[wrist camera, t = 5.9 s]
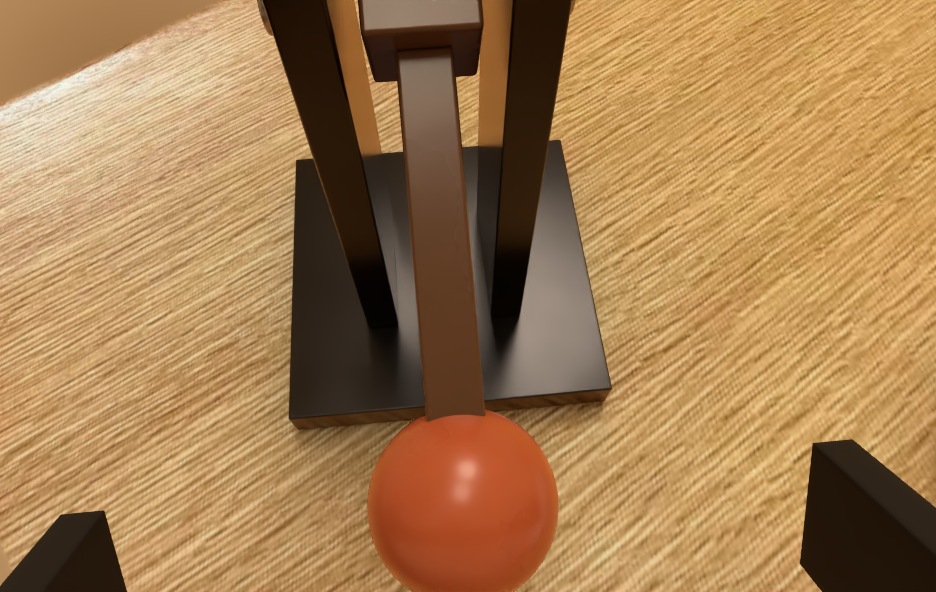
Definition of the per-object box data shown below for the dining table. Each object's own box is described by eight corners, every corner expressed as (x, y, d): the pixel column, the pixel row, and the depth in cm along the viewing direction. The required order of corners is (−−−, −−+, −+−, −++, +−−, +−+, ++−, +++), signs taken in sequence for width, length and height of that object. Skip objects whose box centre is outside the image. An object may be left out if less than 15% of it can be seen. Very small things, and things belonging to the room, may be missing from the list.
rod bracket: (605, 401, 21) (788, 91, 9) (297, 430, 21) (58, 145, 9) (556, 159, 26) (636, -264, 14) (302, 179, 26) (150, -240, 13)
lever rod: (549, 554, 14) (586, 632, 11) (383, 571, 14) (365, 657, 11) (496, -38, 15) (513, -154, 11) (335, -28, 15) (300, -142, 11)
